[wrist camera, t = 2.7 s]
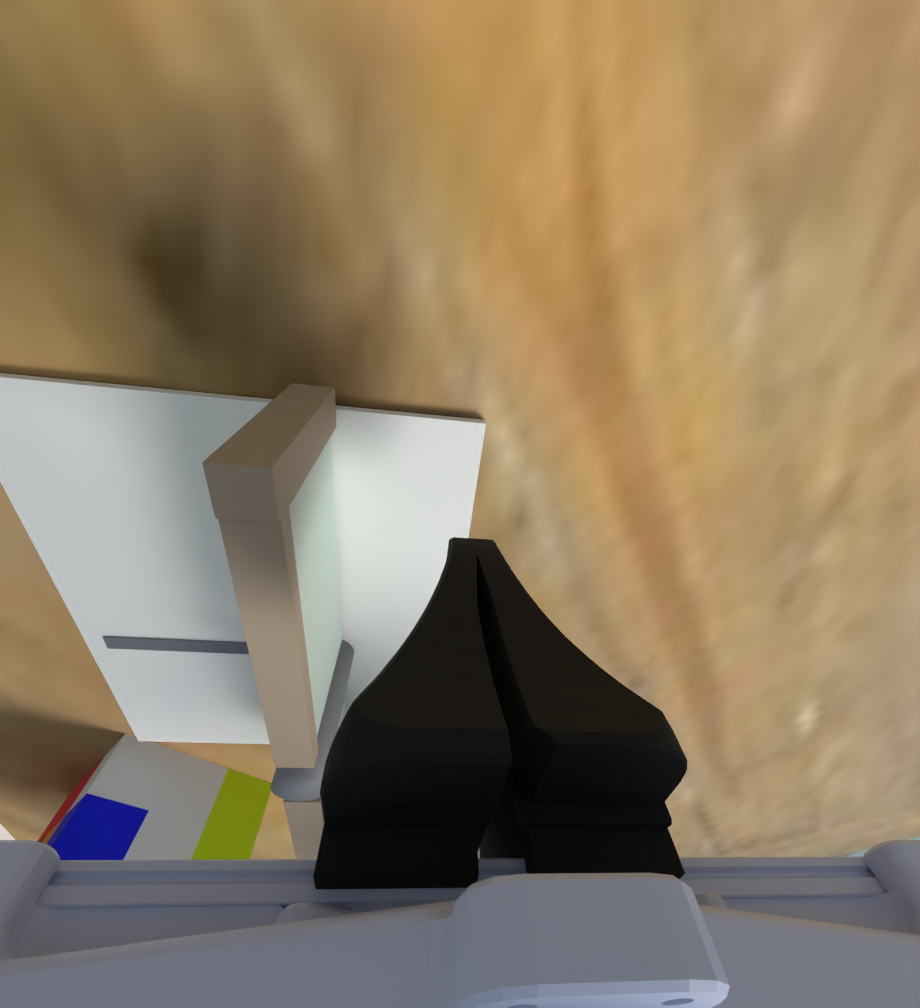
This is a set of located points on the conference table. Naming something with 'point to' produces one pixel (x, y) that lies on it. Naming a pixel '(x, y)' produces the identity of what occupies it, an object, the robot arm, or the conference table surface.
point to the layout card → (216, 537)
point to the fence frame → (306, 782)
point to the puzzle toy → (158, 808)
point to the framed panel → (284, 559)
